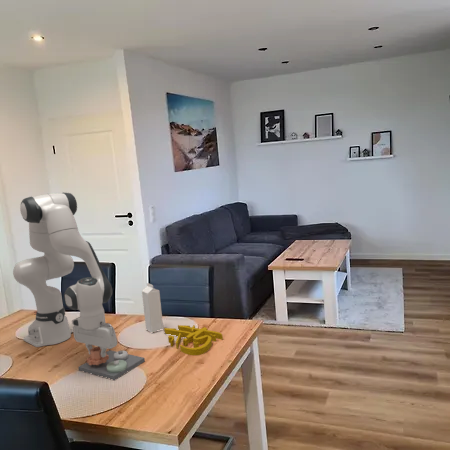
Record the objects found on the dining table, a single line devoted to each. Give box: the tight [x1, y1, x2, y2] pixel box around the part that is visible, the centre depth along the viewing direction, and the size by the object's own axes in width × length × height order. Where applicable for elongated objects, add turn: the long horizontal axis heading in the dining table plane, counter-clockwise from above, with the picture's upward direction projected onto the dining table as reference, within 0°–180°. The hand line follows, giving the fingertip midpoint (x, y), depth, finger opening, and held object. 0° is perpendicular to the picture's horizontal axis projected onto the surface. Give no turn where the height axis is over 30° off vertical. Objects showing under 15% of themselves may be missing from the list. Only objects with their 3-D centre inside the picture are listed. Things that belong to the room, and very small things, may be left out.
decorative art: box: [163, 324, 224, 356], centre depth 184 cm, size 21×3×30 cm
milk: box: [141, 282, 164, 333], centre depth 198 cm, size 6×6×22 cm
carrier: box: [77, 349, 146, 381], centre depth 165 cm, size 19×16×6 cm
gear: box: [86, 346, 109, 365], centre depth 164 cm, size 8×8×5 cm
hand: (97, 355), depth 164 cm, fingers closed on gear, 5 cm apart
